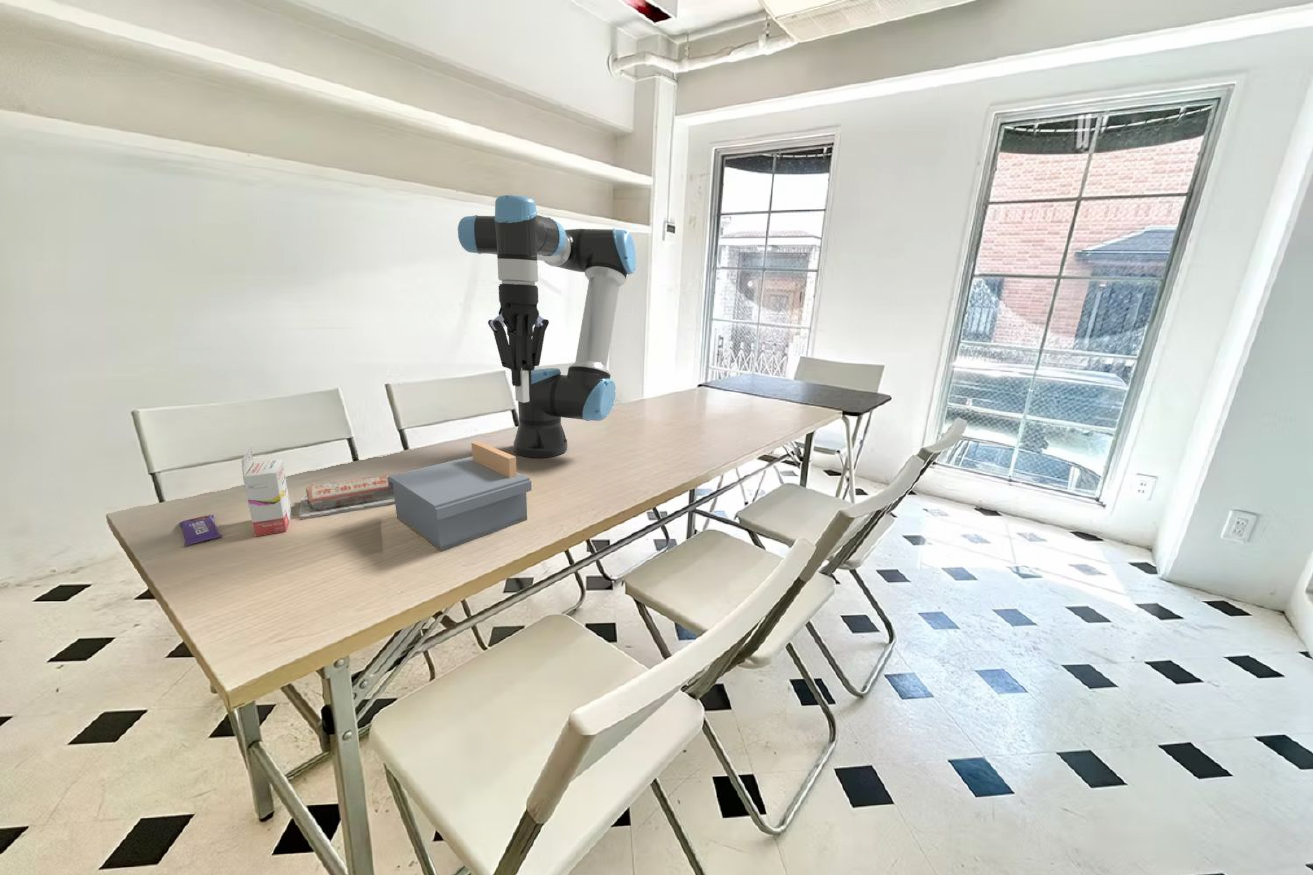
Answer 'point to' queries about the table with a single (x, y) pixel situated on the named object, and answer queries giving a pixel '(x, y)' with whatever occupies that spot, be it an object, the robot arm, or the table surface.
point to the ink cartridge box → (266, 494)
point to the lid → (464, 481)
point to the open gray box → (458, 519)
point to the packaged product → (346, 497)
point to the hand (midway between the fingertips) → (522, 400)
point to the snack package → (199, 529)
